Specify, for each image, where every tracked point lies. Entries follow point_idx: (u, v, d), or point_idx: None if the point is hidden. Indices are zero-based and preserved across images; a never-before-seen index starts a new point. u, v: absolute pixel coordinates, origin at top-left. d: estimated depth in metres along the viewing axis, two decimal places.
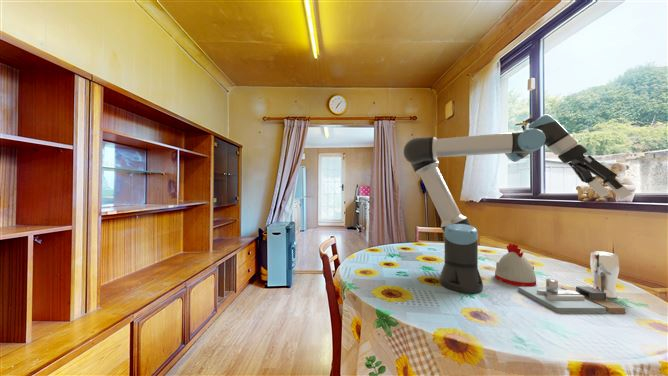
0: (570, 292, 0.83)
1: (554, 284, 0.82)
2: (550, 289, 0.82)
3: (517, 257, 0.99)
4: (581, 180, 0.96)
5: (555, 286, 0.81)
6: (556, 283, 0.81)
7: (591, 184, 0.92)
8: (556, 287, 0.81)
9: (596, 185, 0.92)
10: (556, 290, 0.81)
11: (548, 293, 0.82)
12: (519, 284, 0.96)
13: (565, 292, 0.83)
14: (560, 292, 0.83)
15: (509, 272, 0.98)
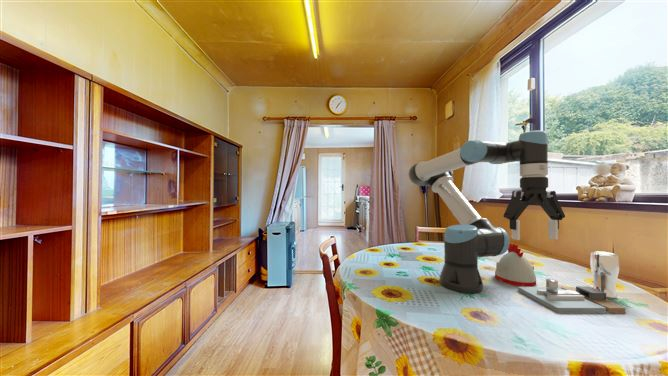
0: (570, 292, 0.83)
1: (554, 284, 0.82)
2: (550, 289, 0.82)
3: (517, 257, 0.99)
4: None
5: (555, 286, 0.81)
6: (556, 283, 0.81)
7: (549, 221, 0.84)
8: (556, 287, 0.81)
9: (552, 225, 0.83)
10: (556, 290, 0.81)
11: (548, 293, 0.82)
12: (519, 284, 0.96)
13: (565, 292, 0.83)
14: (560, 292, 0.83)
15: (509, 272, 0.98)
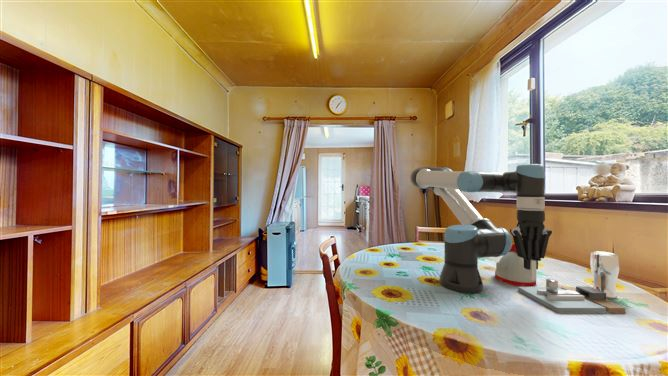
0: (570, 292, 0.83)
1: (554, 284, 0.82)
2: (550, 289, 0.82)
3: (517, 257, 0.99)
4: None
5: (555, 286, 0.81)
6: (556, 283, 0.81)
7: None
8: (556, 287, 0.81)
9: None
10: (556, 290, 0.81)
11: (548, 293, 0.82)
12: (519, 284, 0.96)
13: (565, 292, 0.83)
14: (560, 292, 0.83)
15: (509, 272, 0.98)
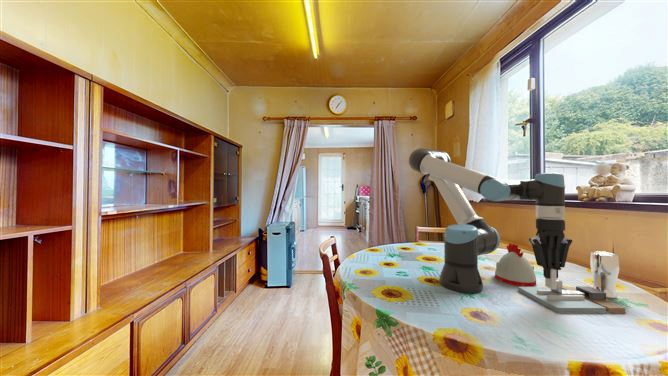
0: (574, 292, 0.83)
1: (558, 284, 0.82)
2: (554, 289, 0.82)
3: (517, 257, 0.99)
4: None
5: (559, 286, 0.81)
6: (560, 283, 0.81)
7: None
8: (560, 287, 0.81)
9: None
10: (560, 290, 0.81)
11: (553, 293, 0.82)
12: (519, 284, 0.96)
13: (569, 292, 0.83)
14: (564, 292, 0.83)
15: (509, 272, 0.98)
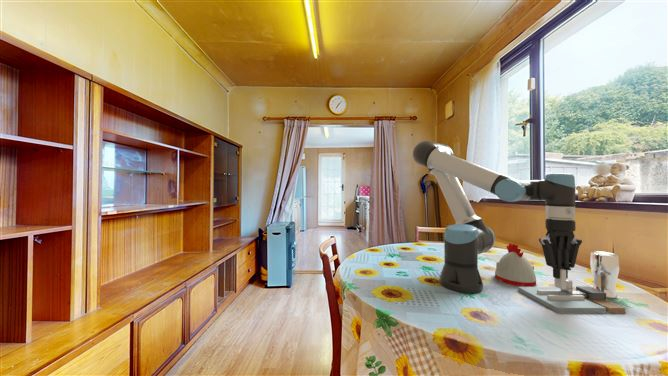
0: (584, 292, 0.83)
1: (569, 284, 0.82)
2: (565, 289, 0.82)
3: (517, 257, 0.99)
4: None
5: (570, 286, 0.81)
6: (571, 283, 0.81)
7: None
8: (571, 287, 0.81)
9: None
10: (571, 290, 0.81)
11: (563, 293, 0.82)
12: (519, 284, 0.96)
13: (579, 292, 0.83)
14: (574, 292, 0.83)
15: (509, 272, 0.98)
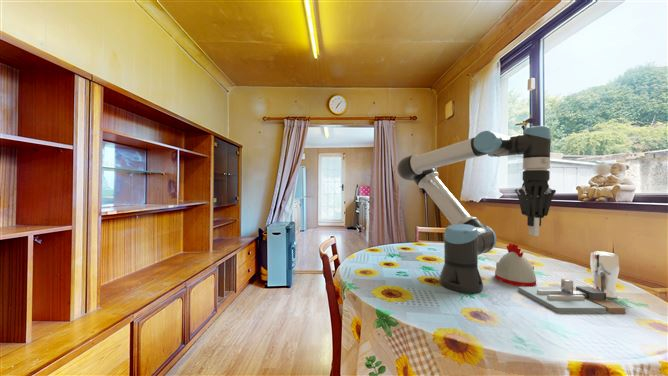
0: (585, 292, 0.83)
1: (569, 284, 0.82)
2: (565, 289, 0.82)
3: (517, 257, 0.99)
4: None
5: (570, 286, 0.81)
6: (571, 283, 0.81)
7: None
8: (571, 287, 0.81)
9: None
10: (571, 290, 0.81)
11: (564, 293, 0.82)
12: (519, 284, 0.96)
13: (580, 292, 0.83)
14: (575, 292, 0.83)
15: (509, 272, 0.98)
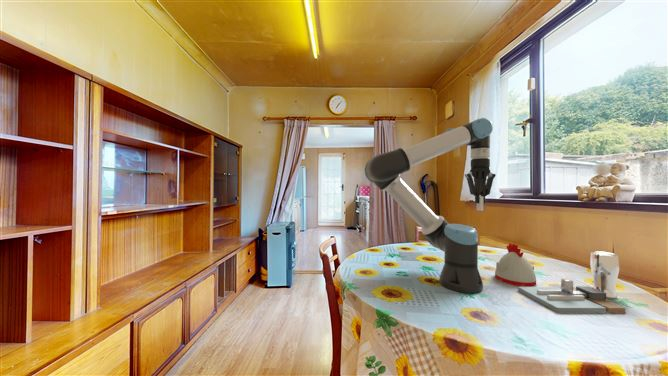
0: (585, 292, 0.83)
1: (569, 284, 0.82)
2: (565, 289, 0.82)
3: (517, 257, 0.99)
4: None
5: (570, 286, 0.81)
6: (571, 283, 0.81)
7: None
8: (571, 287, 0.81)
9: None
10: (571, 290, 0.81)
11: (564, 293, 0.82)
12: (519, 284, 0.96)
13: (580, 292, 0.83)
14: (575, 292, 0.83)
15: (509, 272, 0.98)
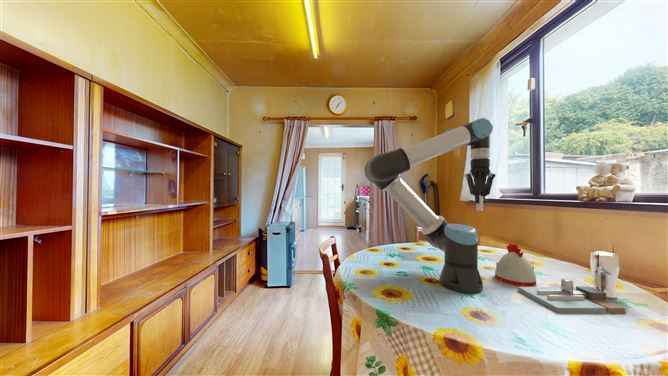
0: (585, 292, 0.83)
1: (569, 284, 0.82)
2: (565, 289, 0.82)
3: (517, 257, 0.99)
4: None
5: (570, 286, 0.81)
6: (571, 283, 0.81)
7: None
8: (571, 287, 0.81)
9: None
10: (571, 290, 0.81)
11: (564, 293, 0.82)
12: (519, 284, 0.96)
13: (580, 292, 0.83)
14: (575, 292, 0.83)
15: (509, 272, 0.98)
